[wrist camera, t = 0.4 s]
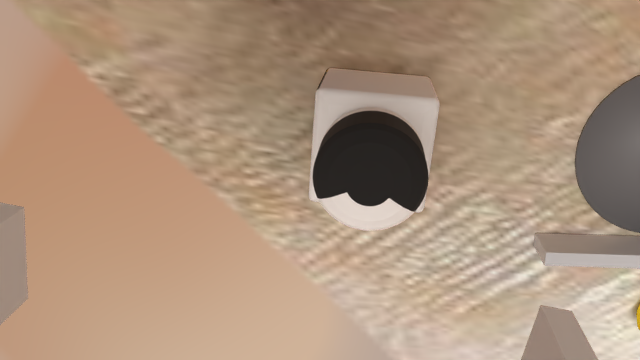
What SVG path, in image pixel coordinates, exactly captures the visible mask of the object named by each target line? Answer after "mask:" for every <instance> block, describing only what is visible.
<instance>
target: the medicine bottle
mask: <svg viewBox="0 0 640 360" xmlns="http://www.w3.org/2000/svg"><path fill="white" fill-rule="evenodd" d="M439 107H440V103H439V99H438V97H437V94H436V92H435V89H434V87H433V84H432V82H431V79H430V78H429V77H426V76H416V75H405V74H394V73H382V72H371V71H360V70H349V69H337V68H329V69H328V70H326V72H325V74H324V77H323V79H322V81H321V83H320V85H319V87H318V89H317V91H316V94H315V108H314V123H313V138H312V152H311V167H310V182H309V198H310V200H311V201H314V202H320V204H321V205H322V207H323V208H324V209H325V210H326V212H327V213H328V214H329V215H330V216H332V217H333V218H334V219H336V220H337V221H339V222H340V223H342V224H344V225H346V226H349V227H351V228H355V229H359V230H366V231H375V230H383V229H387V228H390V227H393V226H396V225H398V224H400V223H401V222H403V221H405V220H406V219H407V218H409V217H410V216H411V215H412V214H413V213H414V212H421V211H423V209H424V207H425V200H426V193H427V187H428V180H429V173H430V167H431V160H432V153H433V147H434V140H435V133H436V127H437V120H438V113H439Z"/></svg>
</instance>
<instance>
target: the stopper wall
mask: <svg viewBox="0 0 640 360" xmlns="http://www.w3.org/2000/svg"><path fill="white" fill-rule="evenodd" d="M534 247H535V248H536V250H537V252H538V254H539V256H540V258H541V260H542V262H543V264H544V265H549V266H578V267H608V268H637V269H640V236H621V235H586V234H551V233H535V240H534Z"/></svg>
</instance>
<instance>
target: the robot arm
mask: <svg viewBox="0 0 640 360" xmlns="http://www.w3.org/2000/svg"><path fill="white" fill-rule="evenodd" d="M27 299H28V287H27V264H26V239H25V215H24V207H21V206H16V205H10V204H5V203H0V325H1V324H2V323H3V322H4V321H5V320H6V319H7V318H8V317H9V316H10V315H11V314H12V313H13V312H14V311H15V310H16V309H17V308H18V307H19V306H21V305H22V303H23V302H25V301H26V300H27ZM521 360H598V359H597V357H596V355H595V353H594V351H593V349H592V348H591V346H590V344H589V342H588V340H587V338H586V336H585V335H584V333H583V331H582V329H581V327H580V325H579V323H578V321H577V320H576V318H575V316H574V314H573V312H572V311H569V310H564V309H558V308H553V307H548V306H542V305H541V306H540V308H539V311H538V314H537V317H536V320H535V322H534V325H533V328H532V331H531V334H530V336H529V339H528V342H527V345H526V348H525V350H524V353H523V356H522V359H521Z"/></svg>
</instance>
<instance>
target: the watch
mask: <svg viewBox="0 0 640 360" xmlns="http://www.w3.org/2000/svg"><path fill="white" fill-rule="evenodd" d="M636 315H637V325H638V328H639V330H640V304H639V307H638V310H637V314H636Z"/></svg>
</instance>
